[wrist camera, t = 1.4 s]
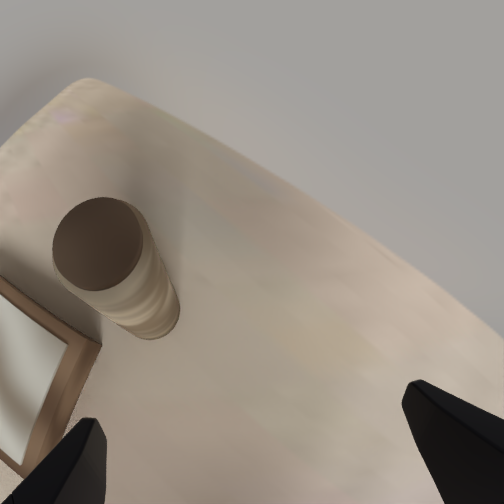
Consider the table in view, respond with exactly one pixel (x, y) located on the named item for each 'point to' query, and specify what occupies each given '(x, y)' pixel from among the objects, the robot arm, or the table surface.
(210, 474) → the table surface
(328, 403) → the table surface
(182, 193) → the table surface
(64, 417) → the square tray
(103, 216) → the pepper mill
